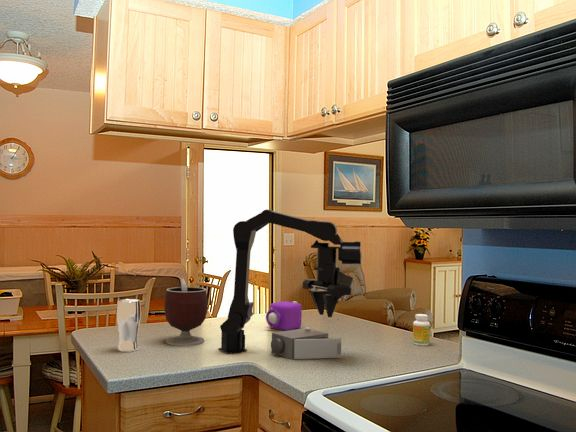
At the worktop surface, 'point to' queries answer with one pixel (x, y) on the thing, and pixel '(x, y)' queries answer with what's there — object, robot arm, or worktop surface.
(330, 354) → the camera door
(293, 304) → the toy camera
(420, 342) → the supplement bottle
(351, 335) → the worktop surface
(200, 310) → the mate gourd
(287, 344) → the box
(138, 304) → the beer glass
